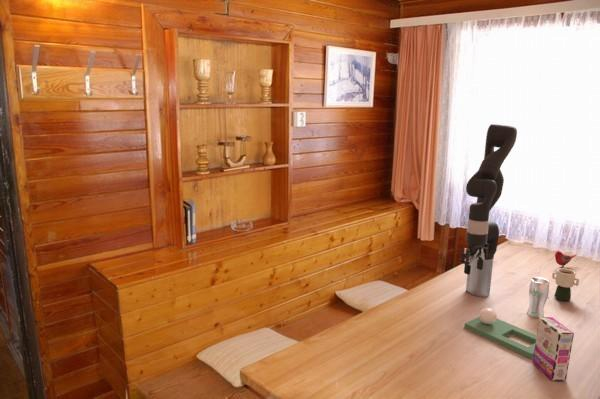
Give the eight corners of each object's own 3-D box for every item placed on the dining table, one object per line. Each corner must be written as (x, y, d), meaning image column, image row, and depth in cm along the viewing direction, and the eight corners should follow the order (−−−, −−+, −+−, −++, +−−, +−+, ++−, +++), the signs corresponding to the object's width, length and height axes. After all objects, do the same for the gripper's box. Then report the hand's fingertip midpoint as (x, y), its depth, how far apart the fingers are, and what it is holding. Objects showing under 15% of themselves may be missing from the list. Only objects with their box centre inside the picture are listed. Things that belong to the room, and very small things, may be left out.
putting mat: (464, 328, 178) (464, 323, 178) (485, 318, 186) (485, 313, 186) (530, 359, 158) (531, 353, 158) (551, 346, 166) (552, 341, 166)
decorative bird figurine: (549, 269, 241) (552, 250, 239) (572, 264, 249) (575, 246, 246) (554, 271, 239) (557, 252, 236) (577, 266, 246) (580, 248, 244)
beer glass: (547, 319, 186) (552, 284, 183) (528, 317, 188) (533, 282, 184) (542, 311, 193) (547, 277, 190) (524, 310, 194) (528, 276, 191)
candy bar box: (567, 381, 146) (575, 333, 142) (552, 381, 146) (559, 333, 142) (546, 361, 157) (552, 316, 153) (531, 361, 157) (538, 316, 153)
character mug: (578, 301, 204) (583, 273, 201) (571, 305, 199) (576, 277, 196) (552, 292, 212) (556, 265, 209) (545, 296, 208) (549, 269, 205)
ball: (475, 322, 179) (477, 308, 177) (484, 318, 182) (486, 304, 181) (489, 328, 174) (491, 314, 173) (498, 324, 177) (500, 309, 176)
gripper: (479, 226, 184) (475, 265, 187) (457, 231, 176) (453, 272, 179) (496, 230, 178) (492, 270, 182) (475, 236, 170) (471, 278, 173)
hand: (473, 271), depth 180 cm, fingers open, 8 cm apart
